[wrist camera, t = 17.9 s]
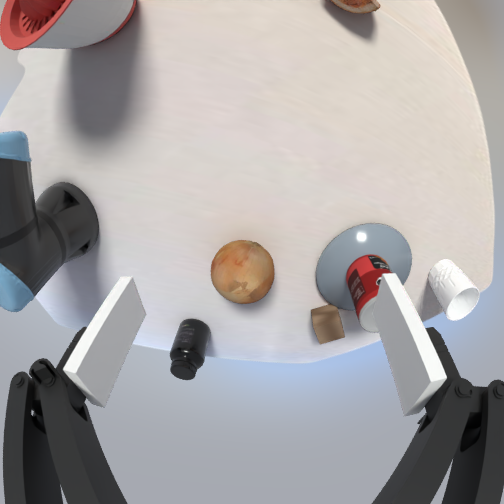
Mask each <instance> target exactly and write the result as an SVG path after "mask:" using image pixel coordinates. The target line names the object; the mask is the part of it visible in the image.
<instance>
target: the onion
mask: <svg viewBox="0 0 504 504" xmlns="http://www.w3.org/2000/svg"><path fill="white" fill-rule="evenodd" d="M211 279H212V282H213V285H214V287H215V288H216V290H217V291H218V292H219V293H220V294H221V295H222V296H223V297H224V298H226V299H227V300H229V301H232V302H235V303H240V304H248V303H253V302H256V301H258V300H260V299H262V298H263V297H264V296H265V295H266V294H267V293H268V291H269V290H270V288H271V285H272V283H273V280H274V264H273V259H272V257H271V256H270V254H269V253H268V252H267V251H266V250H265V249H264V248H263V247H262V246H261V245H259V244H258V243H256V242H252V241H246V240H238V241H233V242H230V243H228V244H226V245H225V246H223V247H222V248H221V249H220V250H219V251H218V252H217V254H216V255H215V257H214V259H213V261H212V265H211Z"/></svg>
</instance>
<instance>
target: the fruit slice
mask: <svg viewBox="0 0 504 504" xmlns="http://www.w3.org/2000/svg"><path fill="white" fill-rule="evenodd" d="M331 1H332V2H333V3H334V4H335V5H337V6H338V7H340V8H342V9H343V10H346V11H349V12H352V13H369V12H372V11H376V10H377V9H379V8H380V4H379V3H378V2H377V1H376V0H331Z"/></svg>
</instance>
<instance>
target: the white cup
mask: <svg viewBox="0 0 504 504" xmlns="http://www.w3.org/2000/svg"><path fill="white" fill-rule="evenodd" d="M428 280H429V284H430V286H431V287H432V289H433V291H434V293H435V295H436V297H437V299H438V301H439V303H440V305H441V307H442V309H443V310H444V312H445V314H446V316H447V318H448V319H449V320H452V321H456V320H459V319H462V318H463V317H465V316H466V315H468V314H469V313H470V312H471V311H472V310H473V309H474V307H475V306H476V304H477V302H478V300H479V295H480V293H479V290H478V288H477V287H476V286H475V285H474V284H473V283H472V281H471V280H470V279H469V278H468V277H467V276H466V275H465V274H464V272H463V271H461V270H460V268H458V267H457V266H456V265H455V264H454V263H453V262H452V261H451V260H448V259H444V260H441V261H439V262H438V263H436V264H435V265H434V266H433V267H432V269H431V270H430V272H429V276H428Z"/></svg>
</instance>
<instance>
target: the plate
mask: <svg viewBox="0 0 504 504" xmlns="http://www.w3.org/2000/svg"><path fill="white" fill-rule="evenodd" d="M369 254H373V255H378V256H380V257H382V258H383V259H384V260H385V261H386V262H387V264H388V265H389V267H390V269H391V270H392V272H393V273H396V275H397V277H398V278H399V280H400V282H401V284H402V285H404V283H405V281H406V280H407V278H408V276H409V273H410V270H411V265H412V254H411V249H410V247H409V244H408V242H407V241H406V239H405V238H404V237H403V236H402V234H401V233H400V232H398V231H397V230H396V229H394V228H392V227H390V226H388V225H384V224H379V223H366V224H361V225H358V226H354V227H352V228H350V229H347V230H346V231H344V232H342V233H341V234H339V235H338V236H337V237H335V238H334V239H333V240H332V241H331V242H330V243H329V244H328V245H327V247H326V248H325V249H324V251H323V253H322V254H321V256H320V259H319V261H318V265H317V270H316V278H317V284H318V287H319V290H320V292H321V294H322V295H323V297H324V298H325V299H326V300H327V301H328V302H329V303H331V304H332V305H334V306H336V307H338V308H341V309H345V310H355V307H354V304H353V301H352V297H351V294H350V291H349V288H348V285H347V282H346V274H347V270H348V268H349V266H350V265H351V264H352V263H353V262H354V261H355V260H356V259H358V258H359V257H361V256H364V255H369Z"/></svg>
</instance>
